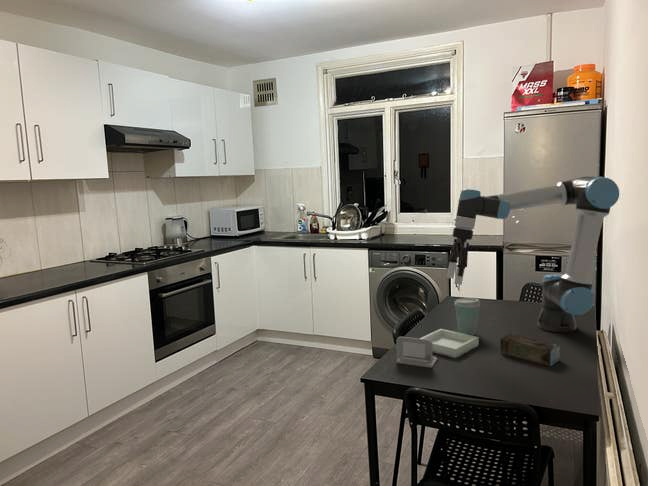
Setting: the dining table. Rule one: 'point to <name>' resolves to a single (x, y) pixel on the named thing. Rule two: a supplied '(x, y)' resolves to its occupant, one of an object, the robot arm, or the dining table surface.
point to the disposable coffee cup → (467, 315)
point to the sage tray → (451, 342)
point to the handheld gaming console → (415, 352)
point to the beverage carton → (530, 349)
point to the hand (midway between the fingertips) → (453, 281)
